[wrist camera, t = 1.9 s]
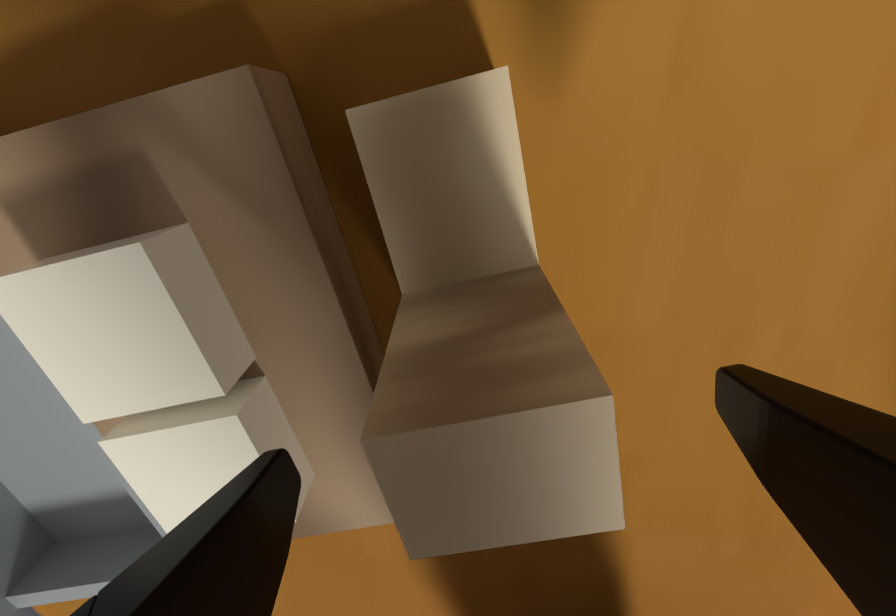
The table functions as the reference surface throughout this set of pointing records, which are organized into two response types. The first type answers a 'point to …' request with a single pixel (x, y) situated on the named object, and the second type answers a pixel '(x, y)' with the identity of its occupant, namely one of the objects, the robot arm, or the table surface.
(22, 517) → the grey tray
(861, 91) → the table surface
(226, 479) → the cream tile
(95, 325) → the cream tile
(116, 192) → the tan flat block
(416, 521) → the beige l-shaped block
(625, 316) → the table surface
